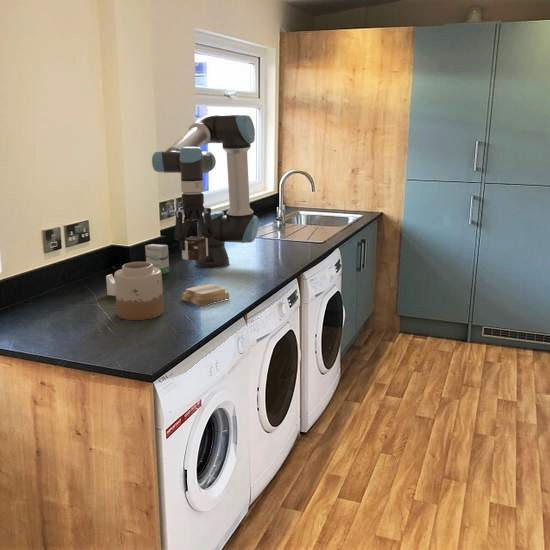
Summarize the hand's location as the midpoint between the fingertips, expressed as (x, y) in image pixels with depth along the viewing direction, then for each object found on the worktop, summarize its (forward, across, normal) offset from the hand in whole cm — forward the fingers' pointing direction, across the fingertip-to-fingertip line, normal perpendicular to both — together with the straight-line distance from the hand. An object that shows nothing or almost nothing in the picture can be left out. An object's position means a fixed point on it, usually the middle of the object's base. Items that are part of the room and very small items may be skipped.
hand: (195, 257), depth 216 cm
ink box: (+16, +10, +44) cm, 47 cm away
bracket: (+16, -14, +27) cm, 34 cm away
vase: (+16, -23, 0) cm, 28 cm away
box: (+1, 0, 0) cm, 1 cm away
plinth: (+15, +2, -3) cm, 16 cm away
